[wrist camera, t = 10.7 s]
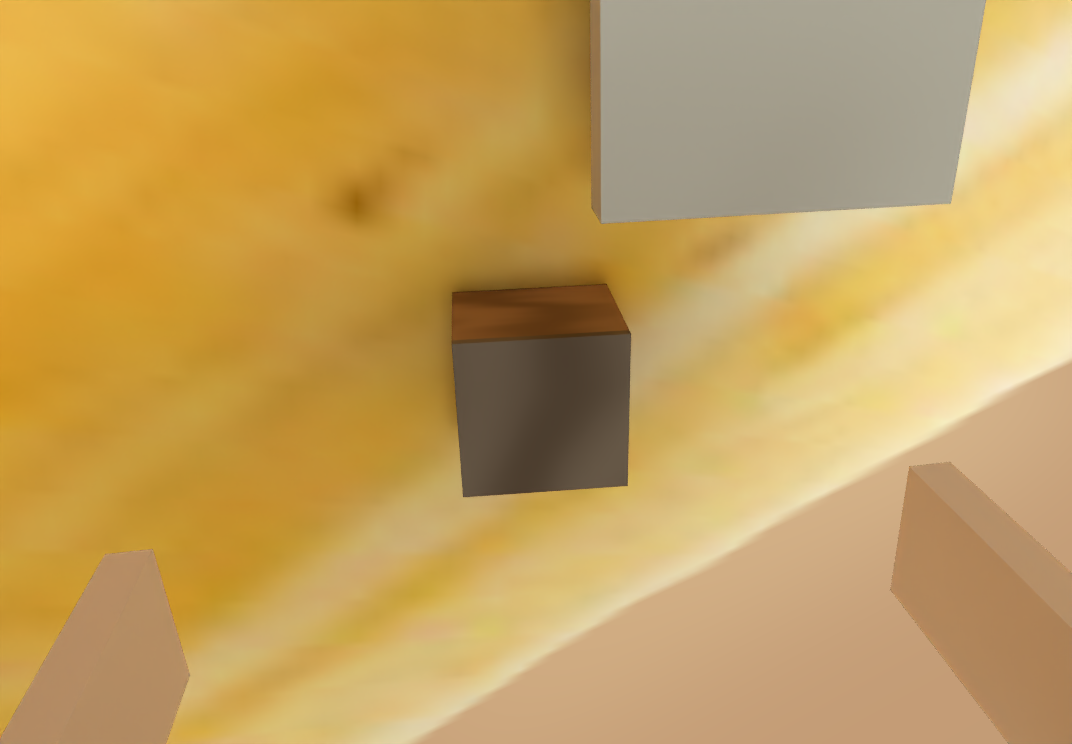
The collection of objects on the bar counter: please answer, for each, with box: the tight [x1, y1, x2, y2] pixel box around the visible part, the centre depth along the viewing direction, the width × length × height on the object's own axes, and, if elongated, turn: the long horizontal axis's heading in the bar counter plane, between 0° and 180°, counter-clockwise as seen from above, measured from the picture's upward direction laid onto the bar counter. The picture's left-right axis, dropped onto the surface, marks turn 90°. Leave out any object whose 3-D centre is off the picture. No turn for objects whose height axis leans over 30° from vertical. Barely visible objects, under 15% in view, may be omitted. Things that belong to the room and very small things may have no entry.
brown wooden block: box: [452, 284, 631, 497], centre depth 37 cm, size 7×7×6 cm
